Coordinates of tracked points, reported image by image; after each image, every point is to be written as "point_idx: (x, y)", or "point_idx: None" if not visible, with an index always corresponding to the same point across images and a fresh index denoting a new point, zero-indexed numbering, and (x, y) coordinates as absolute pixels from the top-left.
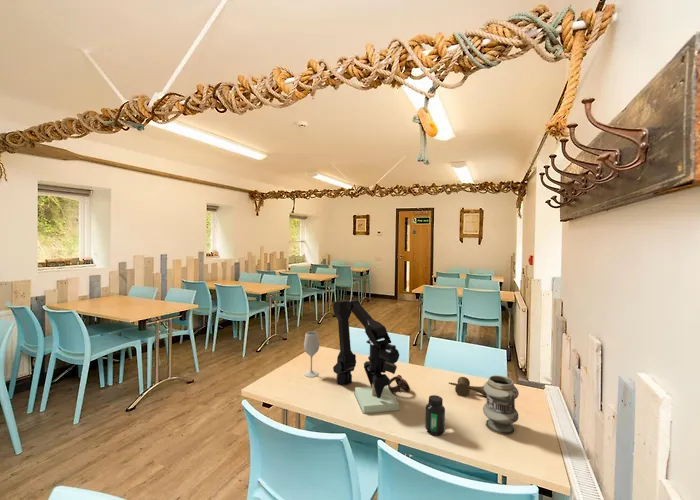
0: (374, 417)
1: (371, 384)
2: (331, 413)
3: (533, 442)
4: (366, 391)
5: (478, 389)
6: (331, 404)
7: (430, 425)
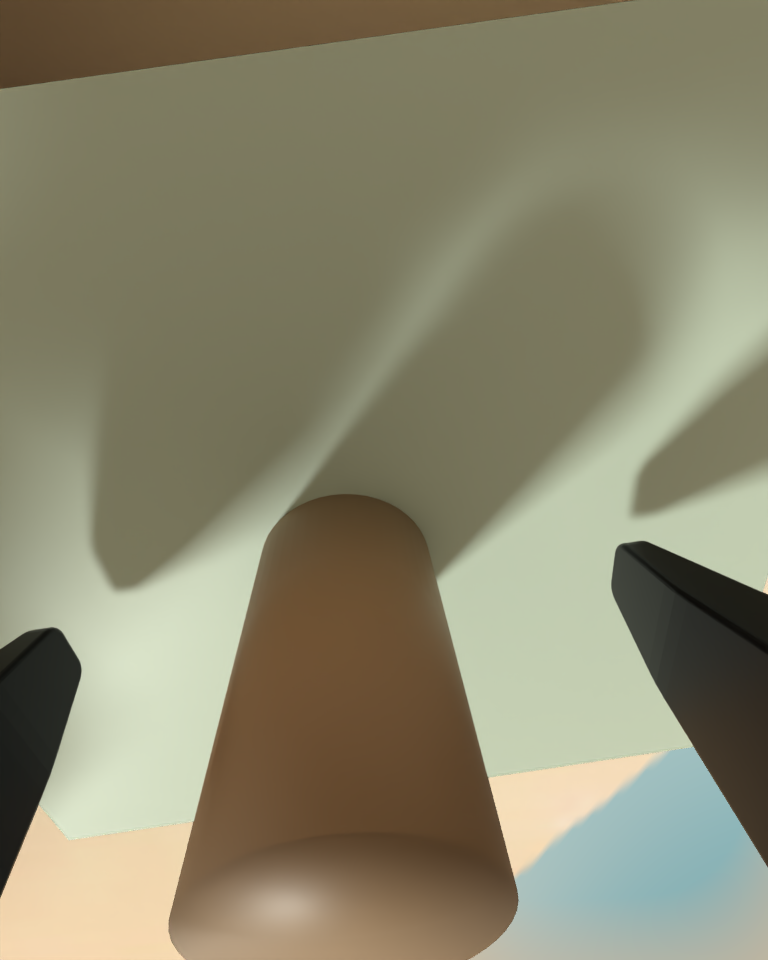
0: None
1: (38, 766)
2: (513, 842)
3: None
4: (194, 707)
5: None
6: None
7: None
